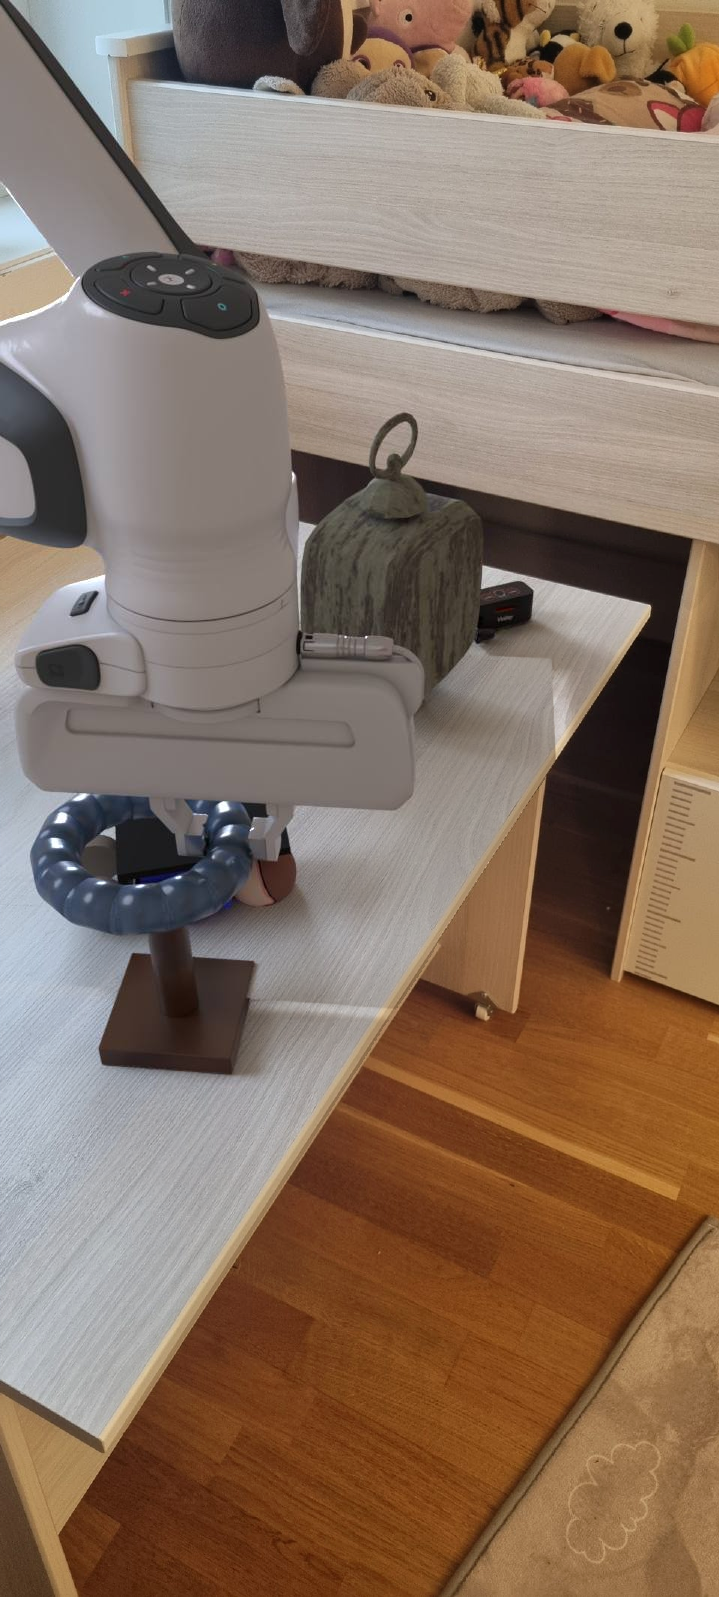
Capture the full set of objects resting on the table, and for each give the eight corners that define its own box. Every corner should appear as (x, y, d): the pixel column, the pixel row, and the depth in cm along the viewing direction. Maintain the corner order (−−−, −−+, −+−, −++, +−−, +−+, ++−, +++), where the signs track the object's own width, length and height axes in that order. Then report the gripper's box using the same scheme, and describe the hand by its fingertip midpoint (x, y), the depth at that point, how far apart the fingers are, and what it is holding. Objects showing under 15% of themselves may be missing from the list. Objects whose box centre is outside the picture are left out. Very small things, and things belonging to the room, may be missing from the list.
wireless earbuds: (452, 626, 112) (453, 595, 110) (518, 610, 115) (521, 579, 113) (476, 649, 109) (477, 617, 107) (543, 632, 111) (546, 601, 109)
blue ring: (4, 937, 62) (-6, 900, 61) (74, 792, 72) (67, 757, 70) (234, 955, 61) (231, 918, 60) (273, 805, 71) (271, 770, 69)
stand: (101, 1065, 72) (76, 952, 66) (134, 968, 78) (114, 857, 72) (232, 1075, 71) (219, 962, 65) (256, 976, 77) (245, 865, 71)
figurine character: (88, 972, 80) (308, 922, 81) (56, 890, 75) (290, 838, 76) (87, 905, 85) (293, 858, 86) (56, 824, 80) (276, 776, 81)
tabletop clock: (390, 655, 108) (391, 377, 93) (481, 680, 105) (498, 397, 89) (306, 735, 98) (291, 440, 83) (402, 767, 95) (406, 464, 79)
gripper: (429, 606, 58) (423, 825, 67) (23, 589, 60) (67, 805, 69) (421, 675, 53) (415, 902, 62) (-21, 654, 55) (32, 878, 64)
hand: (229, 851), depth 65 cm, fingers closed on blue ring, 2 cm apart
